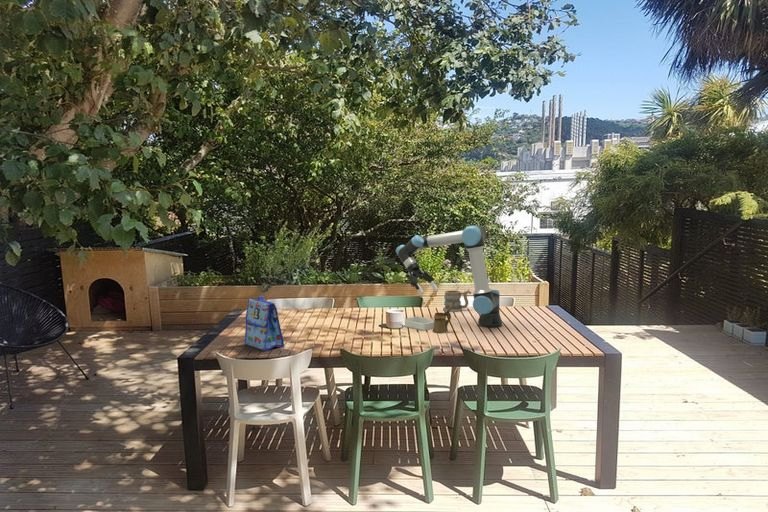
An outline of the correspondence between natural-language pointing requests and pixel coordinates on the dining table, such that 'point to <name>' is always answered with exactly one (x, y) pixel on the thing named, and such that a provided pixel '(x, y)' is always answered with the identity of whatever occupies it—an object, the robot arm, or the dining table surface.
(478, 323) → the robot arm
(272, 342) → the lunch bag
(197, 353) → the dining table surface
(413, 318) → the mug tray
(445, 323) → the wooden mug
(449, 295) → the tankard
